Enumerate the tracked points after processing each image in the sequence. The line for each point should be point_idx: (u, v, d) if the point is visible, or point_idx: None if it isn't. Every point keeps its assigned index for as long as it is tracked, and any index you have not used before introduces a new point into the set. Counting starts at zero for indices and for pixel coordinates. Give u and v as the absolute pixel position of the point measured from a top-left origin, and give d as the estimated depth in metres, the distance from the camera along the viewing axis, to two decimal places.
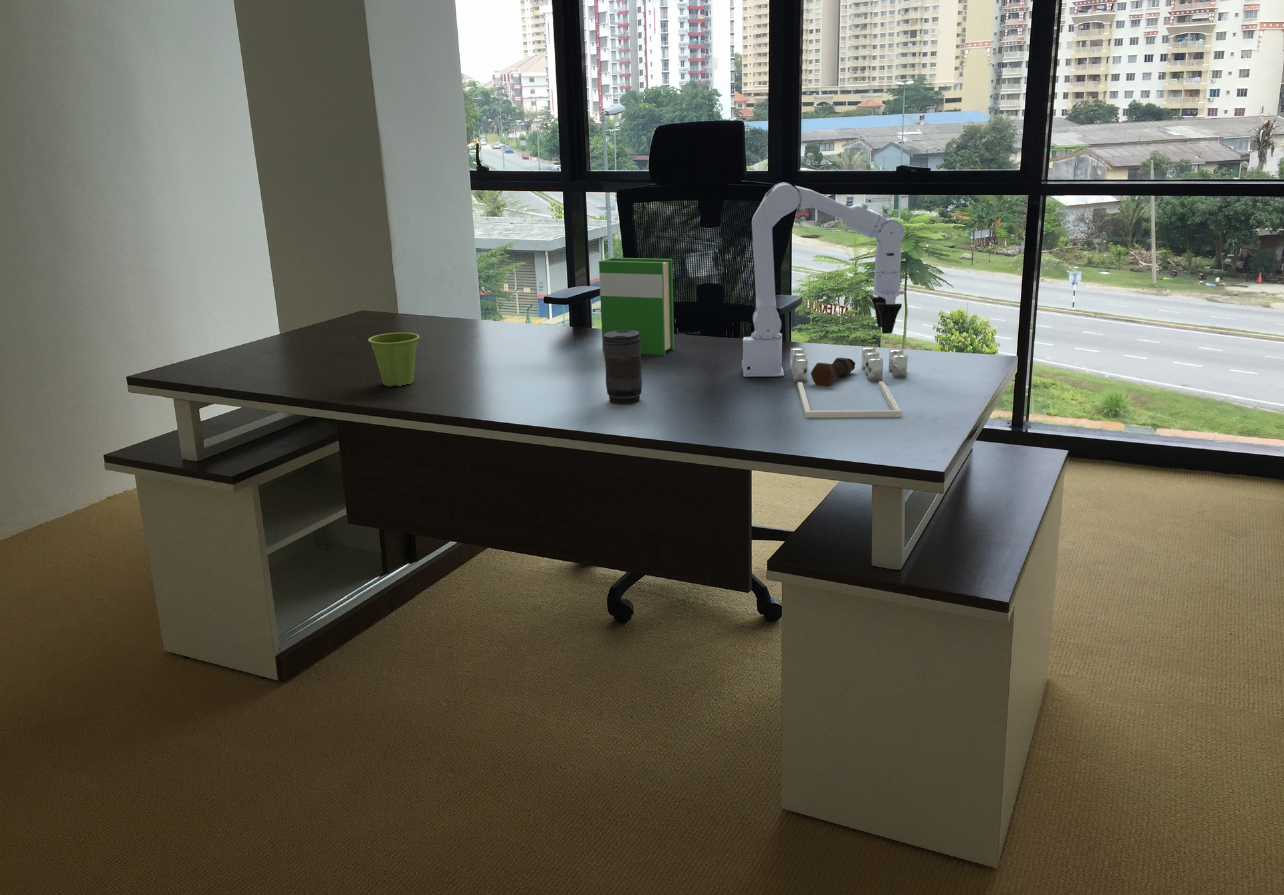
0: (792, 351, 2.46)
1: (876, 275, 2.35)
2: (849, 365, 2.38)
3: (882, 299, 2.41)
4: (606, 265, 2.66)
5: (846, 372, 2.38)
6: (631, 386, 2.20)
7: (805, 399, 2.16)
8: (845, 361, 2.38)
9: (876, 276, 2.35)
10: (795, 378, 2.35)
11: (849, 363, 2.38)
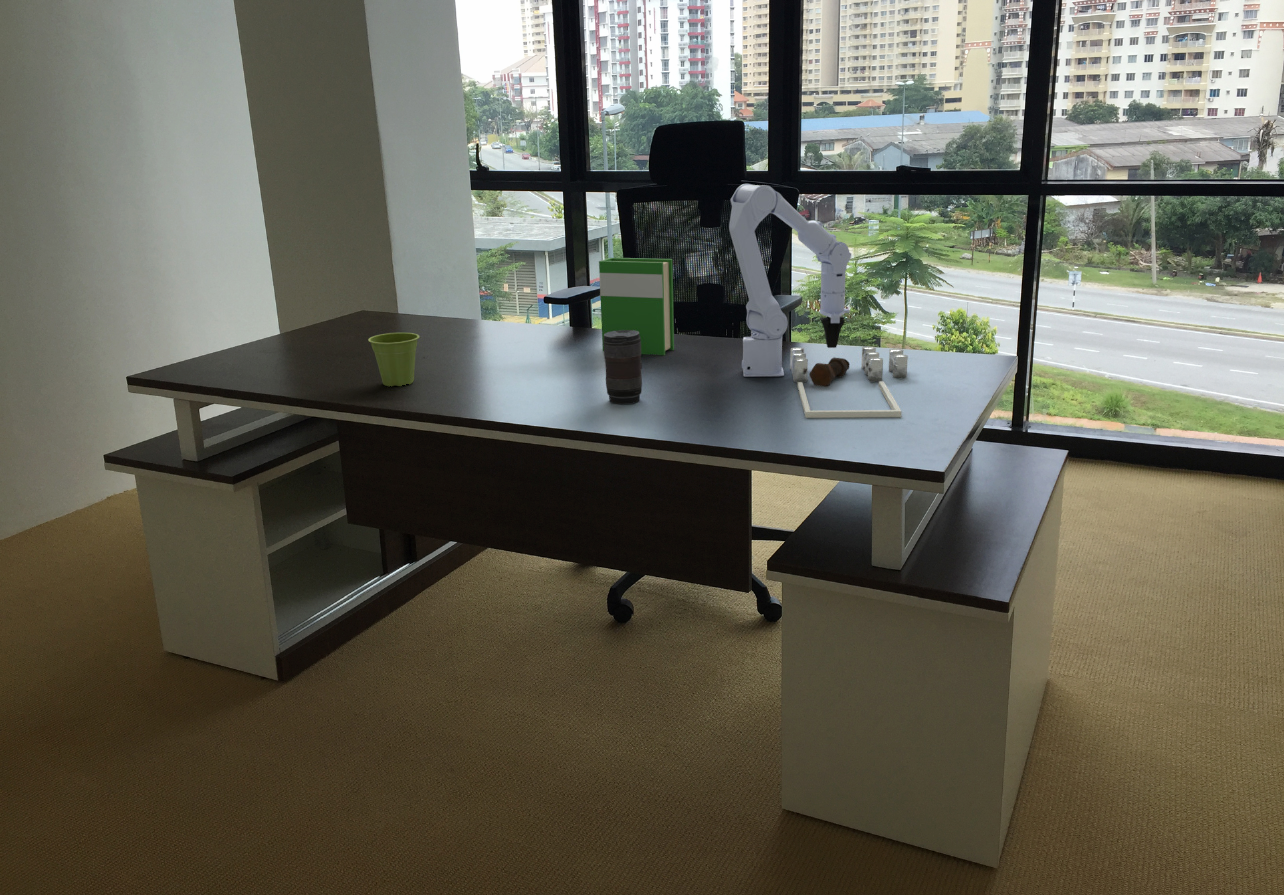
0: (792, 351, 2.46)
1: (822, 295, 2.45)
2: (845, 365, 2.38)
3: None
4: (606, 265, 2.66)
5: (842, 372, 2.38)
6: (631, 386, 2.20)
7: (805, 399, 2.16)
8: (841, 361, 2.38)
9: (822, 296, 2.45)
10: (795, 378, 2.35)
11: (845, 362, 2.39)
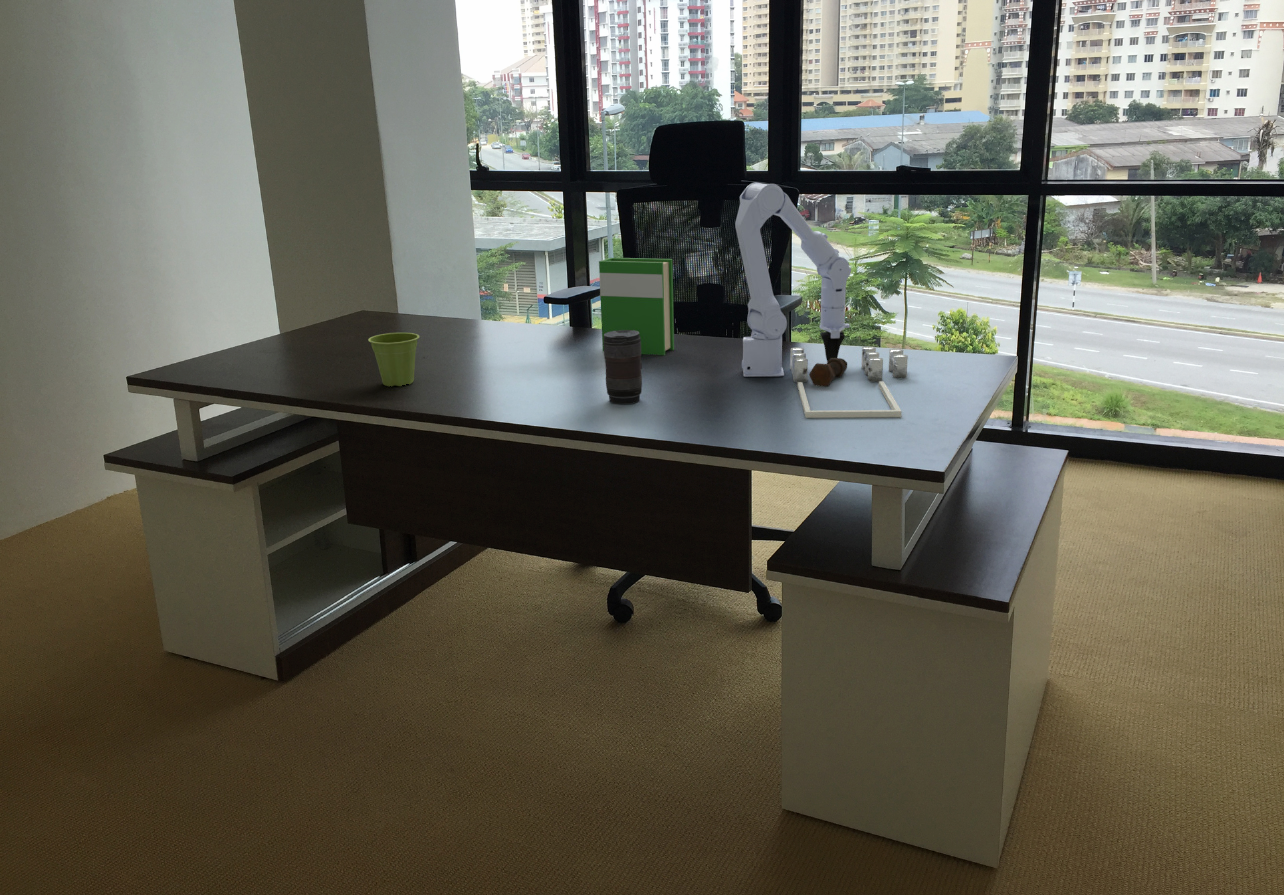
0: (792, 351, 2.46)
1: (822, 309, 2.44)
2: (843, 365, 2.38)
3: None
4: (606, 265, 2.66)
5: (841, 372, 2.38)
6: (631, 386, 2.20)
7: (805, 399, 2.16)
8: (839, 361, 2.38)
9: (822, 311, 2.44)
10: (795, 378, 2.35)
11: (843, 362, 2.39)
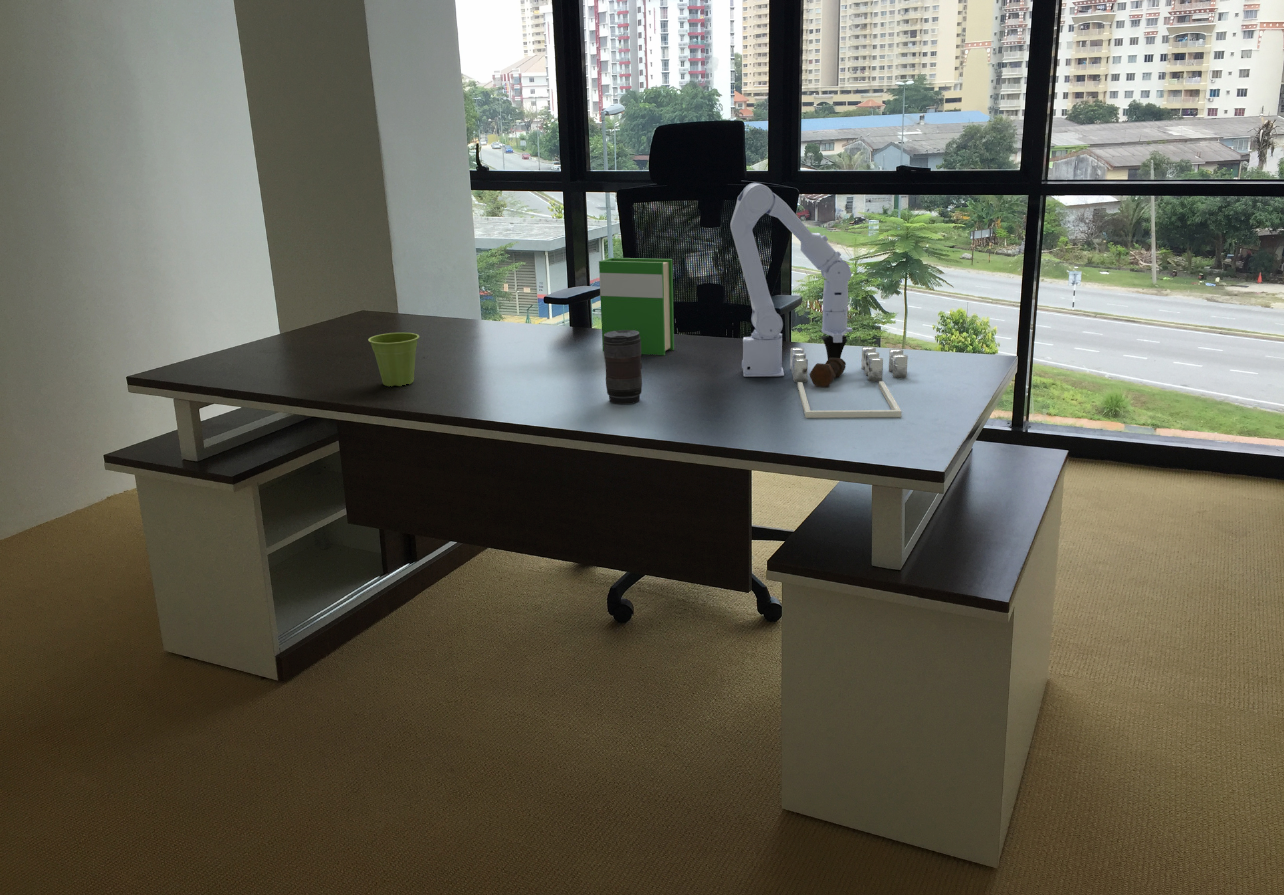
0: (792, 351, 2.46)
1: (824, 313, 2.40)
2: (842, 365, 2.38)
3: None
4: (606, 265, 2.66)
5: (840, 372, 2.38)
6: (631, 386, 2.20)
7: (805, 399, 2.16)
8: (839, 361, 2.37)
9: (824, 314, 2.40)
10: (795, 378, 2.35)
11: (842, 362, 2.38)
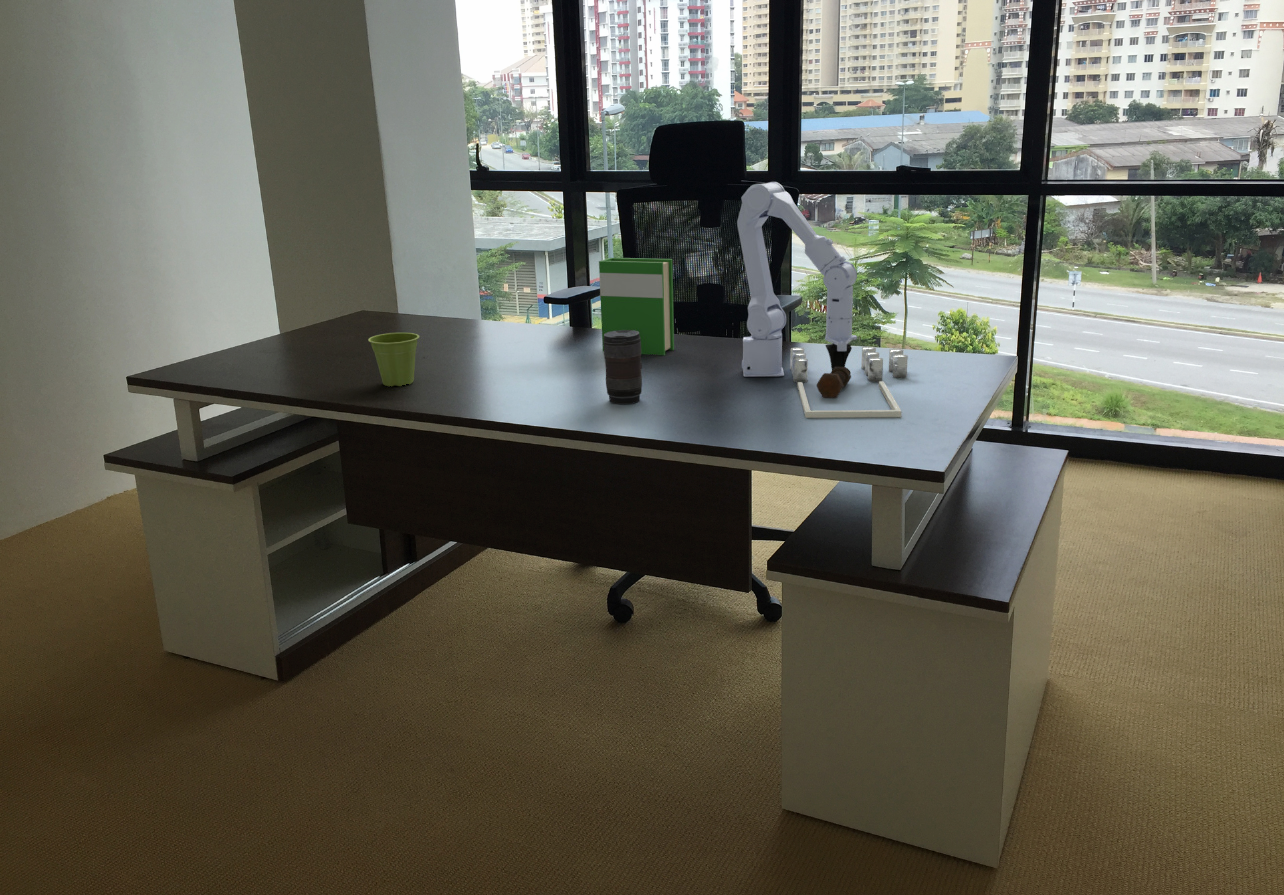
0: (792, 351, 2.46)
1: (827, 320, 2.31)
2: (848, 374, 2.29)
3: None
4: (606, 265, 2.66)
5: (846, 381, 2.29)
6: (631, 386, 2.20)
7: (805, 399, 2.16)
8: (844, 370, 2.28)
9: (828, 322, 2.31)
10: (795, 378, 2.35)
11: (848, 371, 2.29)
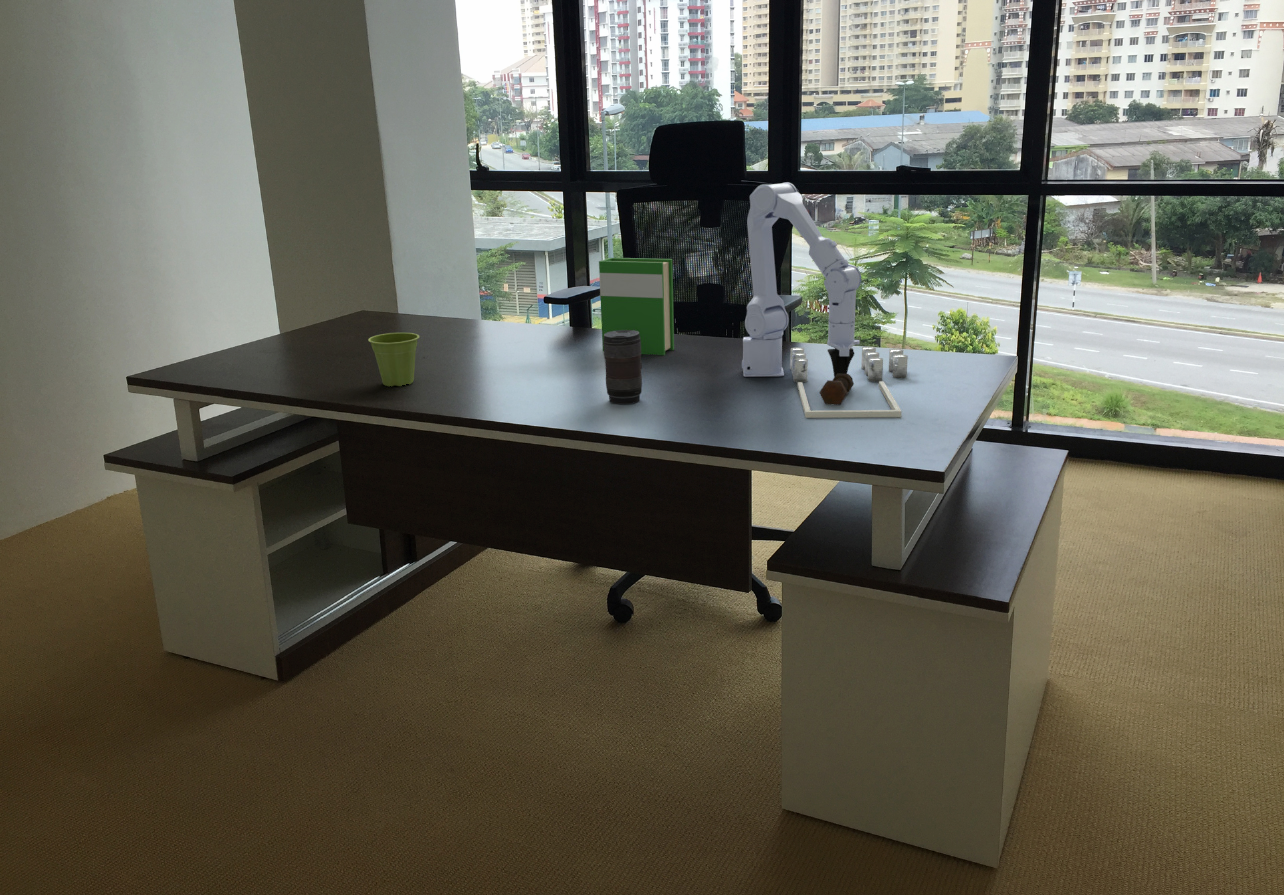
0: (792, 351, 2.46)
1: (830, 325, 2.26)
2: (851, 381, 2.24)
3: None
4: (606, 265, 2.66)
5: (848, 388, 2.24)
6: (631, 386, 2.20)
7: (805, 399, 2.16)
8: (847, 377, 2.23)
9: (830, 326, 2.26)
10: (795, 378, 2.35)
11: (850, 378, 2.24)
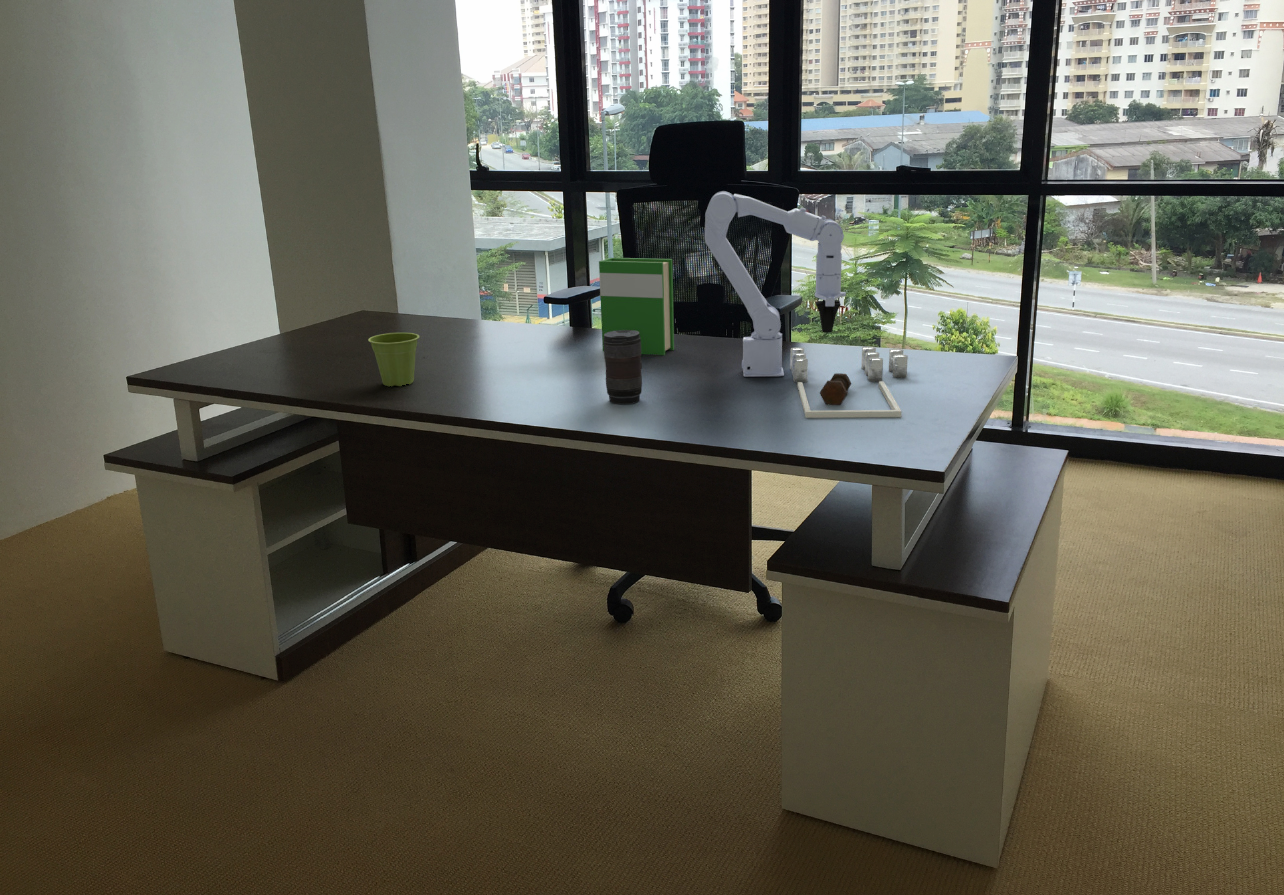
0: (792, 351, 2.46)
1: (817, 277, 2.36)
2: (849, 381, 2.24)
3: None
4: (606, 265, 2.66)
5: (846, 388, 2.24)
6: (631, 386, 2.20)
7: (805, 399, 2.16)
8: (845, 377, 2.23)
9: (817, 278, 2.36)
10: (795, 378, 2.35)
11: (848, 378, 2.24)
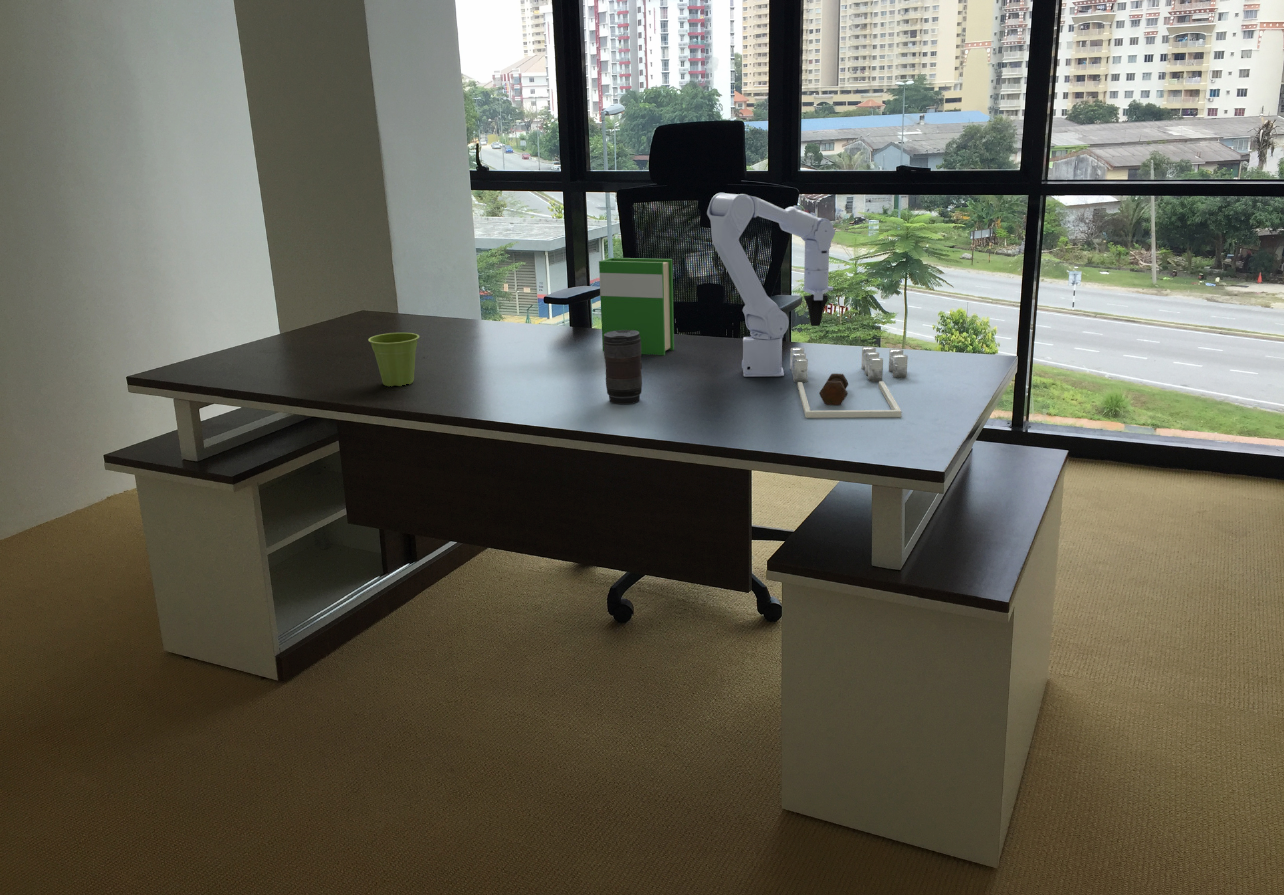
0: (792, 351, 2.46)
1: (805, 272, 2.44)
2: (846, 381, 2.24)
3: None
4: (606, 265, 2.66)
5: None
6: (631, 386, 2.20)
7: (805, 399, 2.16)
8: (842, 377, 2.23)
9: (805, 273, 2.44)
10: (795, 378, 2.35)
11: (845, 378, 2.24)
